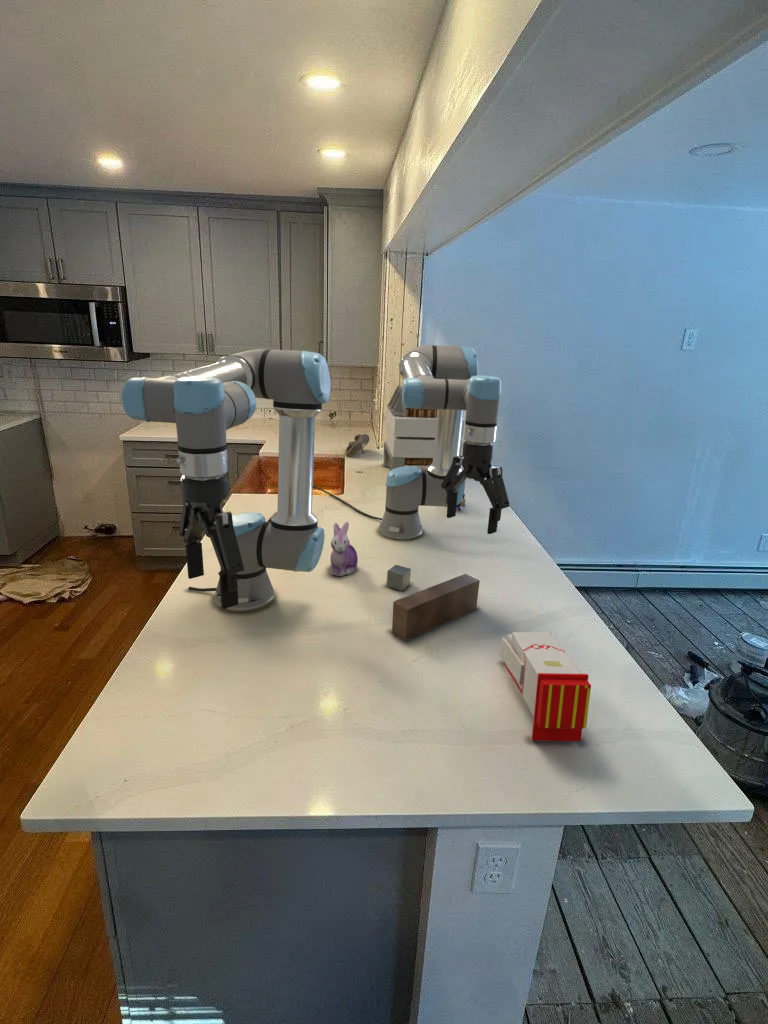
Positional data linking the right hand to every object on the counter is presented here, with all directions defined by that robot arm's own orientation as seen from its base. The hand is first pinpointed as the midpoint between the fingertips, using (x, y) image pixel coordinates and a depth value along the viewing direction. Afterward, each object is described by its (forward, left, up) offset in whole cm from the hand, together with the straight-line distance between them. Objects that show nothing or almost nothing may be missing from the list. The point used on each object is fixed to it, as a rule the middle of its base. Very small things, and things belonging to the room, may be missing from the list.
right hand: (470, 524), depth 144 cm
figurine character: (-58, +60, -24) cm, 87 cm away
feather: (-89, -5, -24) cm, 92 cm away
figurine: (-37, -12, -24) cm, 46 cm away
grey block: (-20, -5, -24) cm, 32 cm away
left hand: (0, -69, +3) cm, 69 cm away
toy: (+34, -15, -24) cm, 44 cm away
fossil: (-149, +81, -24) cm, 171 cm away
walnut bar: (0, -10, -24) cm, 26 cm away
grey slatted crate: (-102, +83, -24) cm, 133 cm away
